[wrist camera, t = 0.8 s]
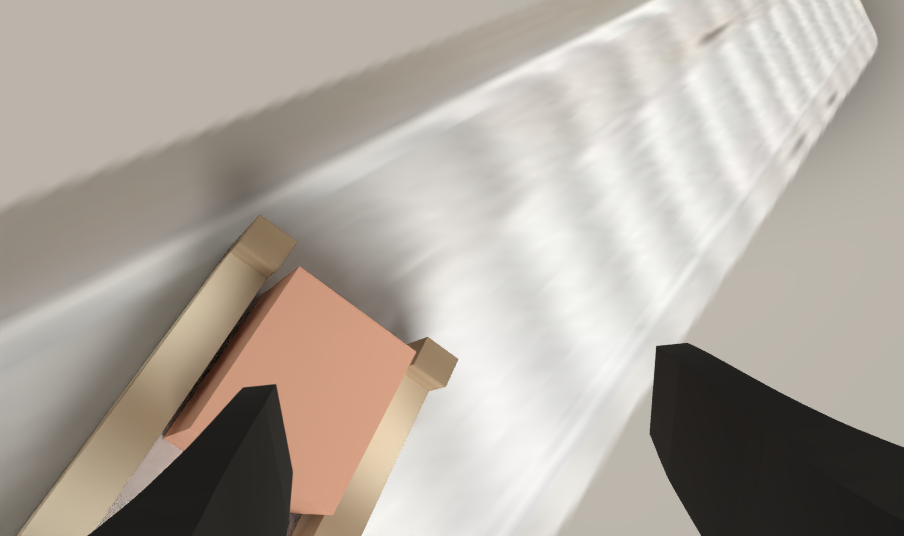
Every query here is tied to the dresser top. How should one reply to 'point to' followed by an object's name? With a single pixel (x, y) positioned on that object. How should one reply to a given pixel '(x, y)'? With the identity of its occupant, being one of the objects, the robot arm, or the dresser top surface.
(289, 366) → the block
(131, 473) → the chute
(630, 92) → the dresser top surface
